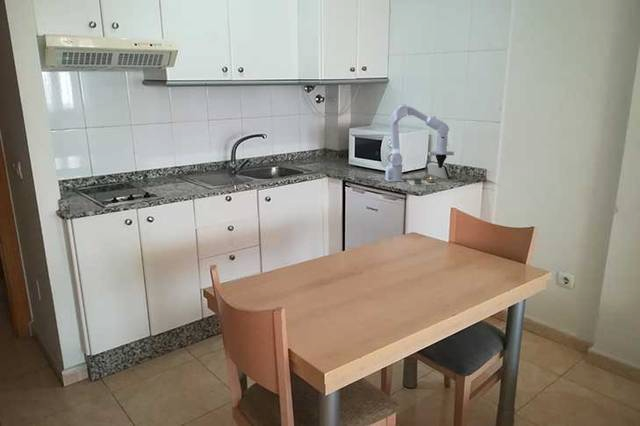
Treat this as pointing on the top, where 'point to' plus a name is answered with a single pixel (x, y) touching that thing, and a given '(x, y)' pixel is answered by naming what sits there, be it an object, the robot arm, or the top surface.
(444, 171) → the grey piece
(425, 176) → the link
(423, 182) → the base board
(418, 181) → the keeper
